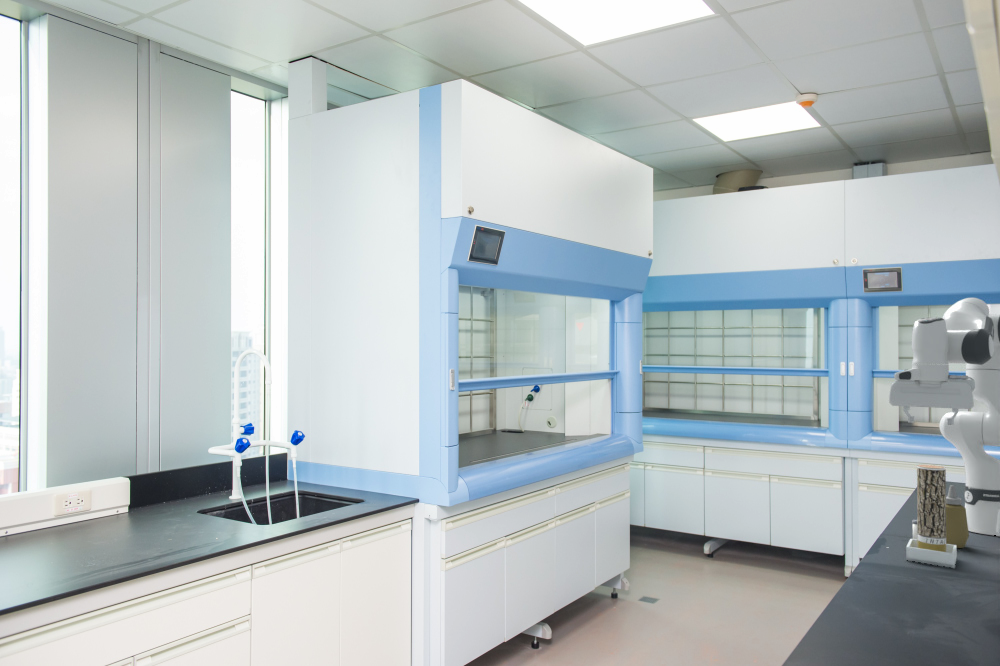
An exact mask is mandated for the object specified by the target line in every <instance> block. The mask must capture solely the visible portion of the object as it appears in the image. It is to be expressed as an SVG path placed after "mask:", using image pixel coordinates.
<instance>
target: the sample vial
mask: <svg viewBox="0 0 1000 666" xmlns="http://www.w3.org/2000/svg"><path fill="white" fill-rule="evenodd" d="M911 522H912V539H916V540H918V530H917V519H912V520H911Z"/></svg>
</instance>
